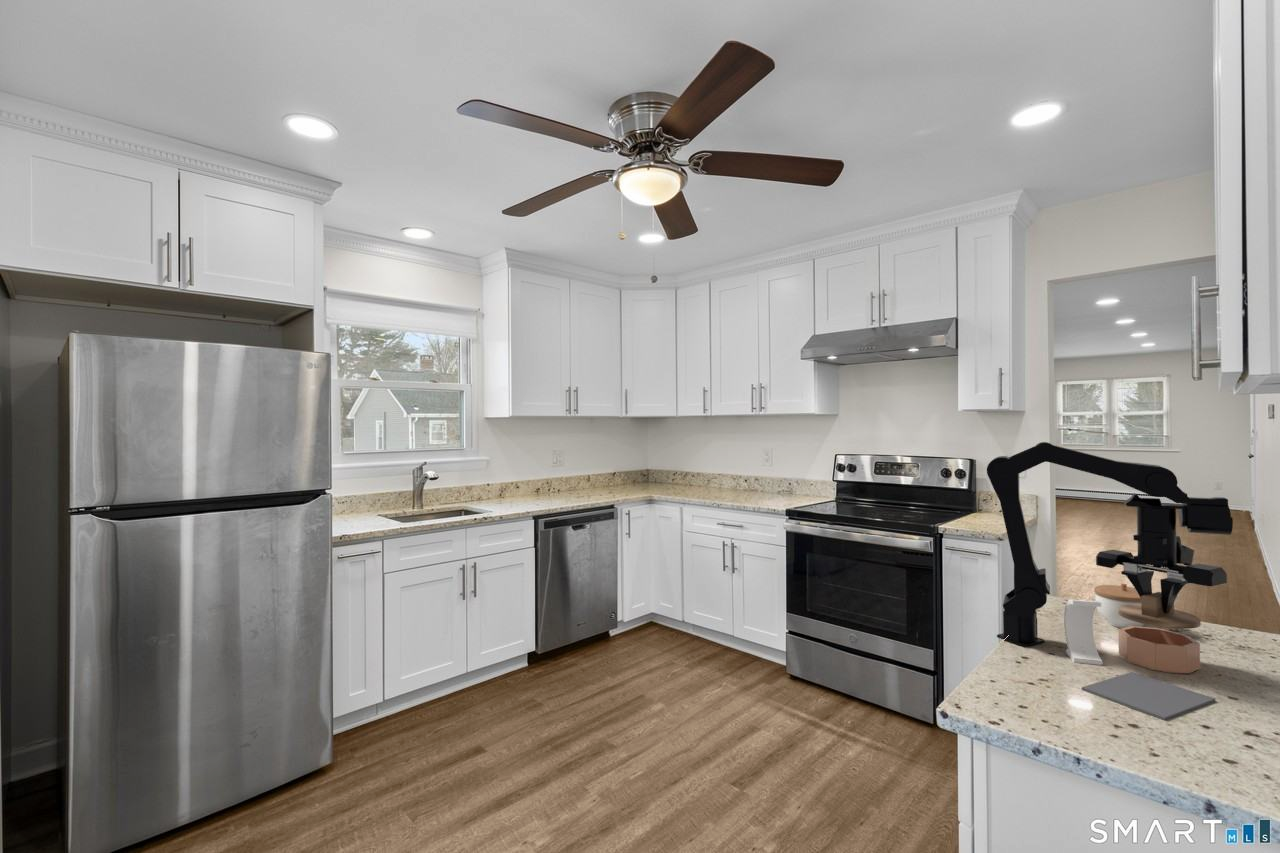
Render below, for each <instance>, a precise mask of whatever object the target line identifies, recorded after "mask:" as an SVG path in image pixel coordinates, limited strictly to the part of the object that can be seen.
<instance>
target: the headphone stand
mask: <svg viewBox="0 0 1280 853" xmlns="http://www.w3.org/2000/svg"><path fill="white" fill-rule="evenodd" d="M1064 607H1065V608H1064V617H1063V618H1064V620H1063V622H1064V623H1063V624H1064V625H1063V626H1064V627H1063V628H1064V635H1065V642H1066V645H1067V648H1066V649H1065V651H1066V652H1065V653H1066V654H1067V655H1068V658H1070V659H1071V660H1072V662H1073V663H1079V664H1088V665H1095V666H1096V665H1098V666H1103V660H1102V659H1101V657H1100V655H1099V652H1098V650H1097V646H1096V642H1095V637H1094V628H1093V626H1094V624H1093V621H1094V614H1095V610H1096V608H1097V607H1101V602H1099V601H1095V600H1084V599H1083V600H1082V599H1072V598H1071V599H1068V600H1067V601H1066V604H1065V606H1064Z"/></svg>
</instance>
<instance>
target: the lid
mask: <svg viewBox="0 0 1280 853" xmlns="http://www.w3.org/2000/svg"><path fill="white" fill-rule="evenodd" d="M1118 613H1119V615H1121V616H1122V617H1124V618H1126V619H1129V620H1132V621H1135V622H1139V623H1143V624H1146V625H1148V626H1153V627H1159V628H1169V629H1179V630H1181V629H1182V630H1184V629H1185V630H1186V629H1188V630H1189V629H1190V630H1191V629H1196V628H1200V627H1201V618H1199V617H1198V616H1196V615H1193V614H1191V613H1188V612H1186V611H1182V610H1178V609H1175V602H1174V603H1173V606H1172V608H1171V610H1170V612H1169V613H1167V614H1166V613H1164V612H1163V608H1162V597H1161V591H1157V592H1152V594H1147V595H1143V596H1141V605H1123V606H1120V607H1119V608H1118Z"/></svg>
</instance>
